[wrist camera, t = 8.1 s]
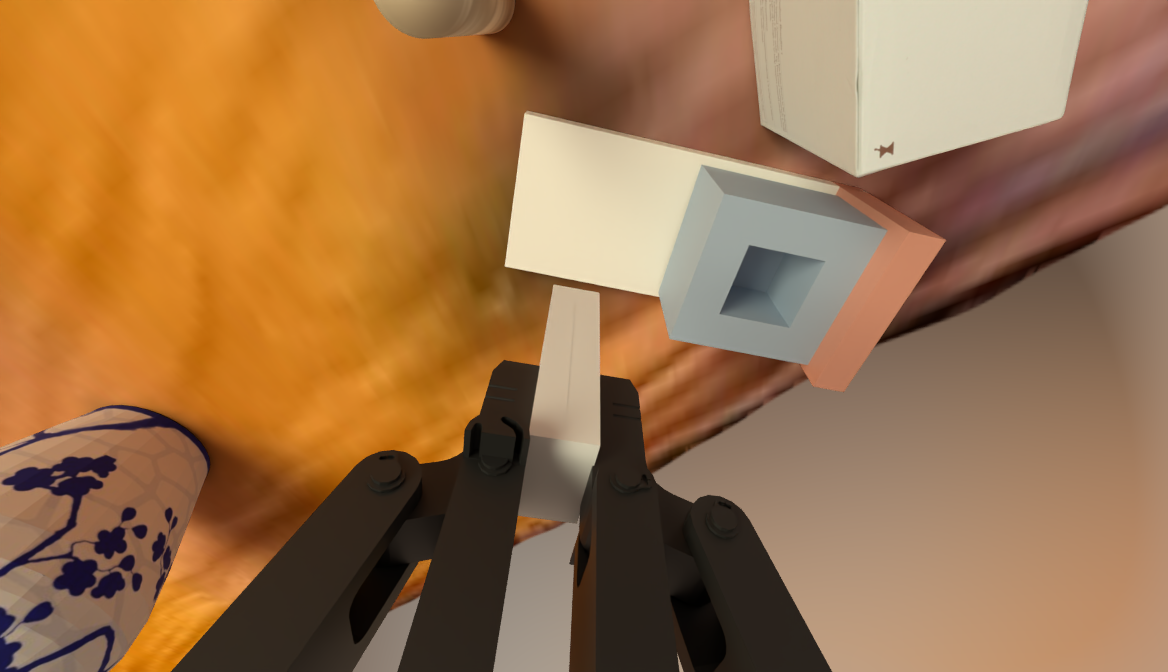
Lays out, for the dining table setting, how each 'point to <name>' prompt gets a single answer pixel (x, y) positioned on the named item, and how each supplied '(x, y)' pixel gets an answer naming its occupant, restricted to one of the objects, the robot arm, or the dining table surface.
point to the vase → (90, 535)
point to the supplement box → (910, 73)
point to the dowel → (447, 16)
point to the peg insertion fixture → (654, 216)
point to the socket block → (763, 265)
